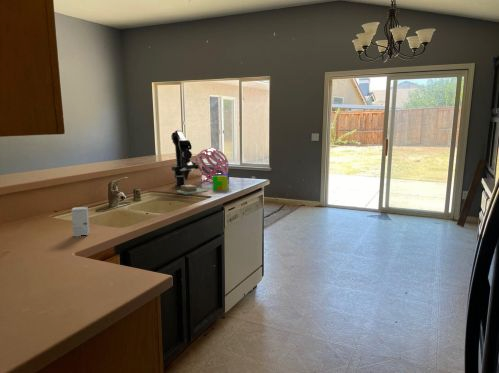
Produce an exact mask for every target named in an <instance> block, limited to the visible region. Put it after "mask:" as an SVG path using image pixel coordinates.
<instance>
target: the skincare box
mask: <svg viewBox="0 0 499 373" xmlns="http://www.w3.org/2000/svg"><path fill="white" fill-rule="evenodd" d="M71 223H72V233H73V234H72V235H73V237H74V236H75V237H82V236H81V235H88V233H89V232H91V231H90V218H89V207H88V206H80V207H79V206H78V207H72V209H71ZM89 234H90V233H89ZM88 236H89V235H88Z"/></svg>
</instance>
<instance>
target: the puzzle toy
mask: <svg viewBox="0 0 499 373" xmlns="http://www.w3.org/2000/svg"><path fill="white" fill-rule="evenodd" d="M212 177H213V180H212V182H213V183H212V191H228V190H229V189H230V174H229V173H227V174H223V173H219V174H215V175H213V176H212Z"/></svg>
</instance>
